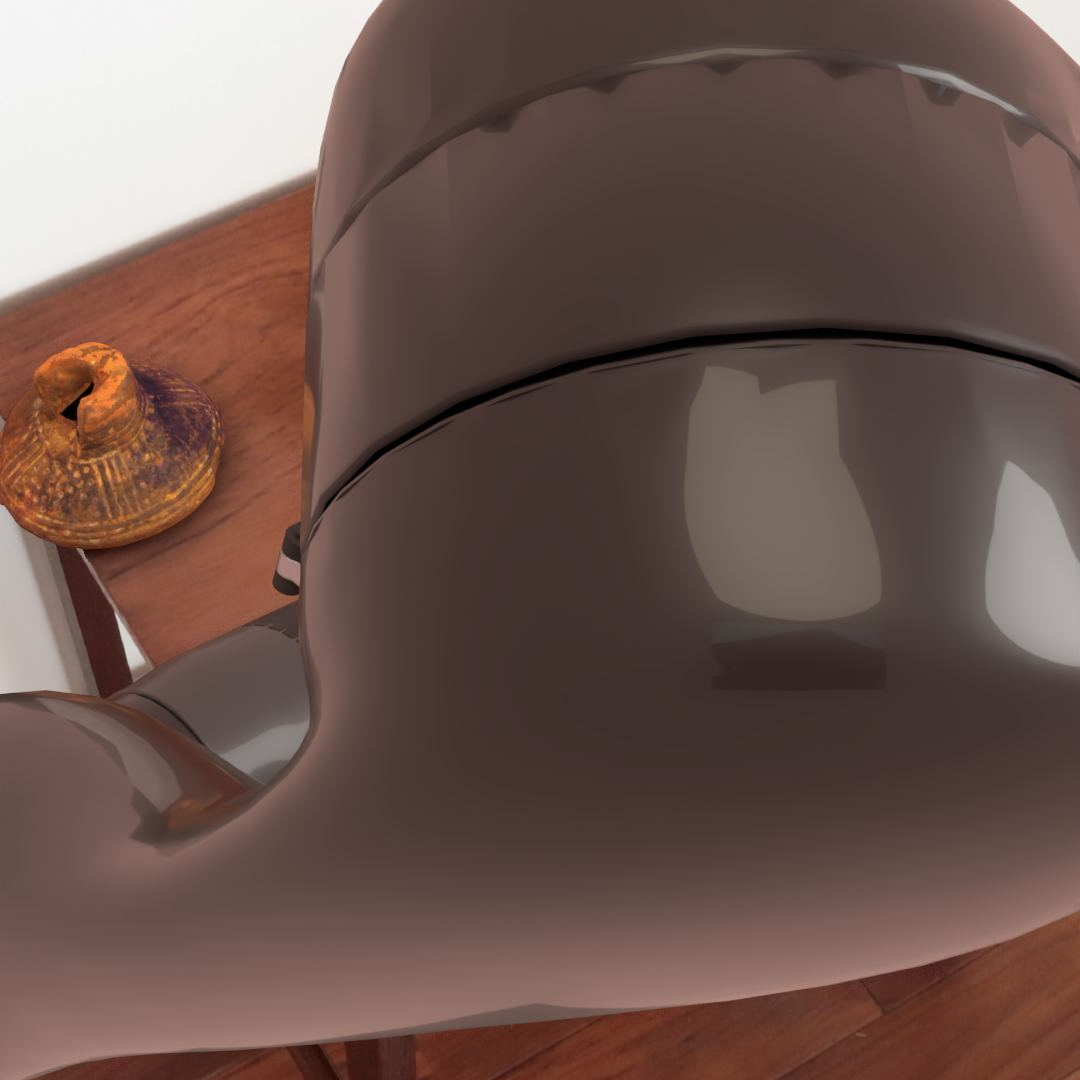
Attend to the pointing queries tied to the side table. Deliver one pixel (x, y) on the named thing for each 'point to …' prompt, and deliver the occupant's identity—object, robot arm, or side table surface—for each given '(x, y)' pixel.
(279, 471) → the side table surface
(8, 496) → the bell
